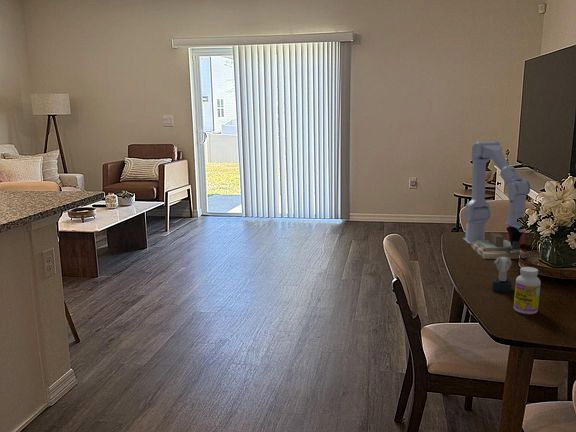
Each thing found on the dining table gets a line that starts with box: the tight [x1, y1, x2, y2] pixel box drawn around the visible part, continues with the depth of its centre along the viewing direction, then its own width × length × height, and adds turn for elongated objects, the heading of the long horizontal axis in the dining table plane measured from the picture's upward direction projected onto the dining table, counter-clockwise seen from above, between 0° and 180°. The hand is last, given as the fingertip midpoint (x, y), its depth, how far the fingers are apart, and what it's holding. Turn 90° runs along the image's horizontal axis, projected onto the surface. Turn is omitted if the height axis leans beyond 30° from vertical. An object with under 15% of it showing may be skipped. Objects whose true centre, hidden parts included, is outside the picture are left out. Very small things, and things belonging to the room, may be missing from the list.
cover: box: [477, 231, 511, 249], centre depth 221 cm, size 12×12×5 cm
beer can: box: [506, 225, 526, 246], centre depth 231 cm, size 7×7×12 cm
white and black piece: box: [491, 257, 512, 294], centre depth 177 cm, size 6×8×11 cm
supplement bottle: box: [513, 266, 542, 315], centre depth 159 cm, size 7×7×13 cm
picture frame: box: [470, 239, 525, 260], centre depth 220 cm, size 18×16×4 cm
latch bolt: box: [509, 240, 521, 252], centre depth 211 cm, size 5×2×4 cm, turn 178°
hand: (514, 245), depth 211 cm, fingers closed
